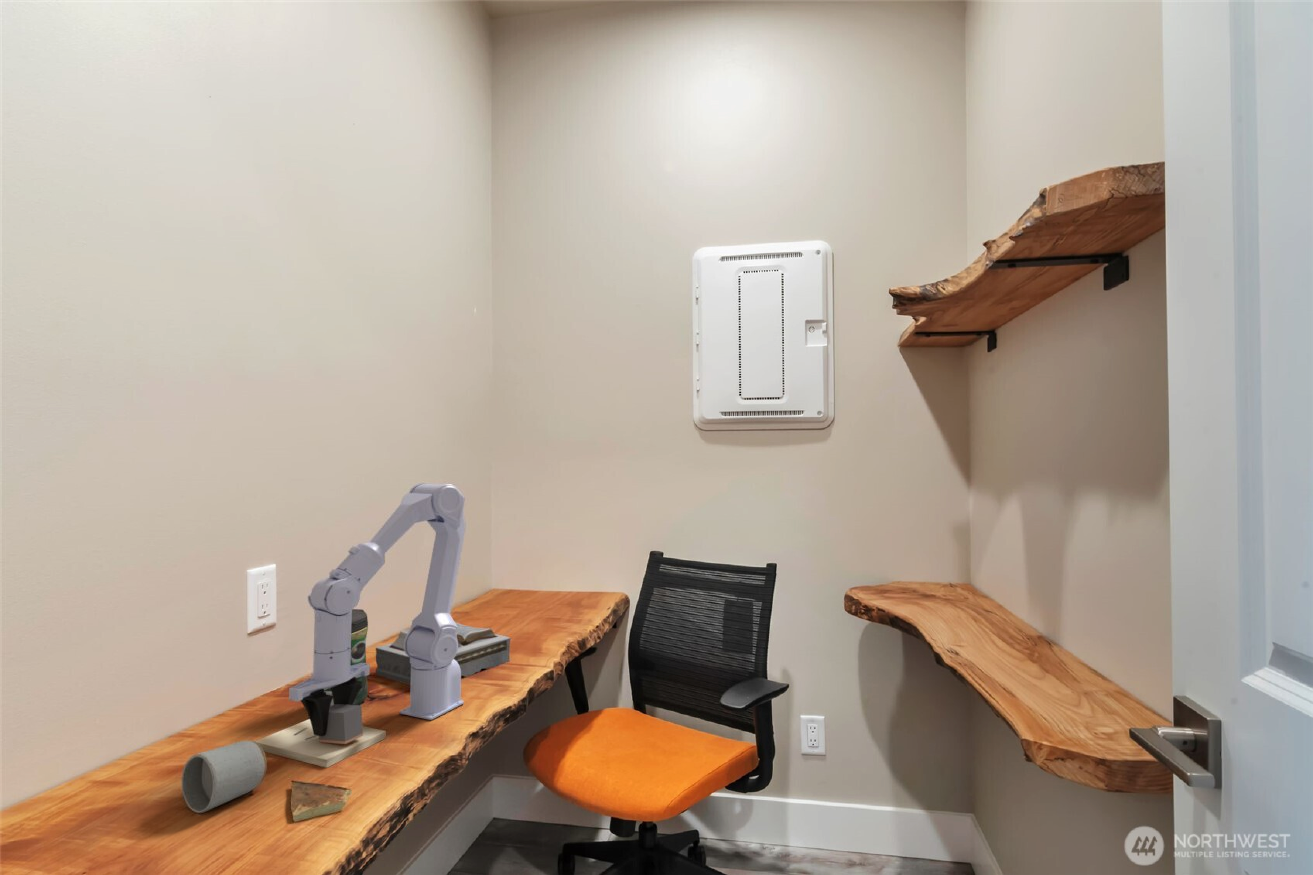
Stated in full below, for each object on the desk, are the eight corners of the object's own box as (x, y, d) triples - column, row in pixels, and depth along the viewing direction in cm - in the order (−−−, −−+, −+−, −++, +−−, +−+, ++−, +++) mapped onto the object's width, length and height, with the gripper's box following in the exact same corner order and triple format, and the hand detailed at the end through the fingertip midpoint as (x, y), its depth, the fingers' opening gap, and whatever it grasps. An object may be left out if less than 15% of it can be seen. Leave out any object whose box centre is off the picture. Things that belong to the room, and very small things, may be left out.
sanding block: (337, 733, 111) (335, 704, 112) (362, 735, 109) (361, 705, 109) (319, 741, 108) (317, 711, 108) (345, 744, 106) (343, 712, 106)
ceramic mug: (270, 791, 94) (271, 737, 94) (212, 819, 86) (213, 760, 87) (224, 778, 98) (225, 726, 99) (165, 803, 91) (166, 747, 91)
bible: (365, 671, 150) (366, 628, 150) (469, 647, 169) (469, 610, 170) (413, 696, 134) (414, 648, 134) (521, 666, 154) (521, 625, 154)
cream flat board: (316, 722, 119) (316, 715, 119) (385, 738, 112) (385, 730, 112) (253, 748, 108) (254, 741, 108) (326, 767, 101) (326, 759, 101)
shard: (290, 790, 95) (291, 778, 95) (347, 778, 99) (348, 766, 99) (290, 826, 86) (290, 812, 86) (353, 812, 89) (353, 798, 90)
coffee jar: (338, 695, 133) (340, 605, 134) (373, 698, 132) (375, 606, 132) (305, 713, 123) (308, 615, 124) (343, 716, 122) (345, 617, 123)
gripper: (350, 636, 118) (348, 711, 118) (276, 658, 105) (274, 742, 104) (379, 640, 115) (377, 717, 115) (307, 663, 102) (305, 750, 102)
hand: (330, 730), depth 109 cm, fingers closed on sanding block, 4 cm apart
